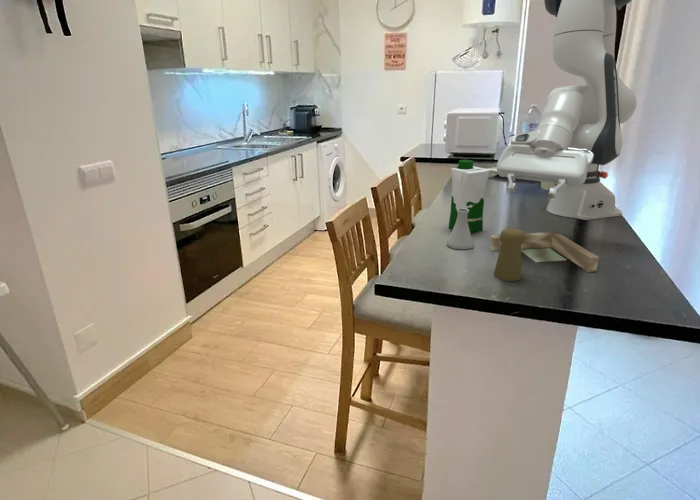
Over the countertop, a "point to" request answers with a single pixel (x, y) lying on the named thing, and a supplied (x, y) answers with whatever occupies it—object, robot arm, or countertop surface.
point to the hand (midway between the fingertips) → (530, 193)
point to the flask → (461, 232)
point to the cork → (510, 255)
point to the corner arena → (548, 255)
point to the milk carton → (468, 194)
